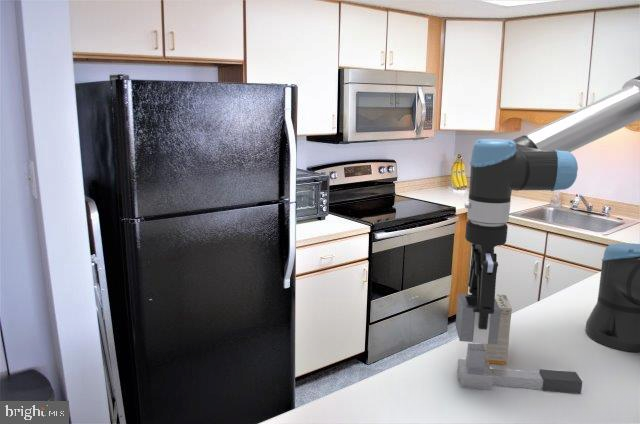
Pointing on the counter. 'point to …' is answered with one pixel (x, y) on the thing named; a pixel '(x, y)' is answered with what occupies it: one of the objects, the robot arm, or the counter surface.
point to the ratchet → (511, 375)
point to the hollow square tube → (467, 317)
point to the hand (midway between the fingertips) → (476, 333)
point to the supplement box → (500, 334)
